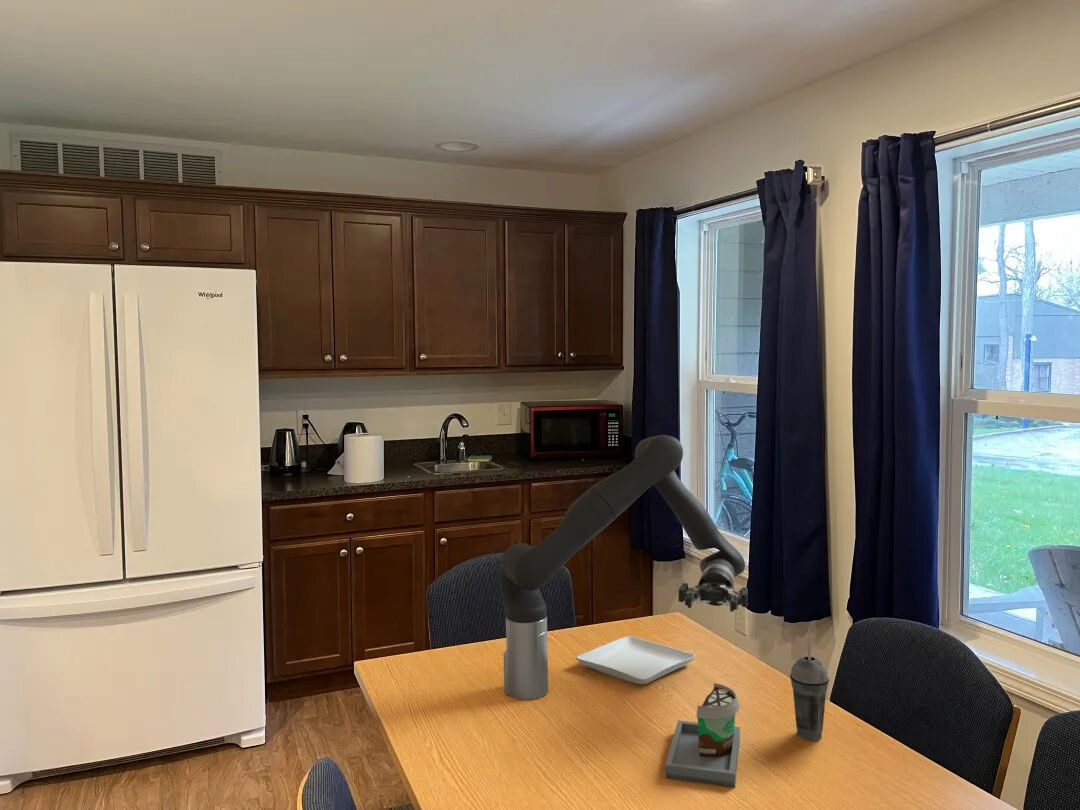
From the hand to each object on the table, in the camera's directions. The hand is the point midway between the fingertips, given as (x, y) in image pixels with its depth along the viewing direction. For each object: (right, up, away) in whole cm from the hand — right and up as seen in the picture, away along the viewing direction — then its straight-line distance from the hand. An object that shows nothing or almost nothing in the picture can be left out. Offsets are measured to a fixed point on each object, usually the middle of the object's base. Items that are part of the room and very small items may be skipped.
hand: (710, 605), depth 162 cm
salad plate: (-12, -23, +30) cm, 40 cm away
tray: (-4, -25, -14) cm, 29 cm away
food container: (0, -24, -12) cm, 27 cm away
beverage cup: (+18, -24, -6) cm, 31 cm away
